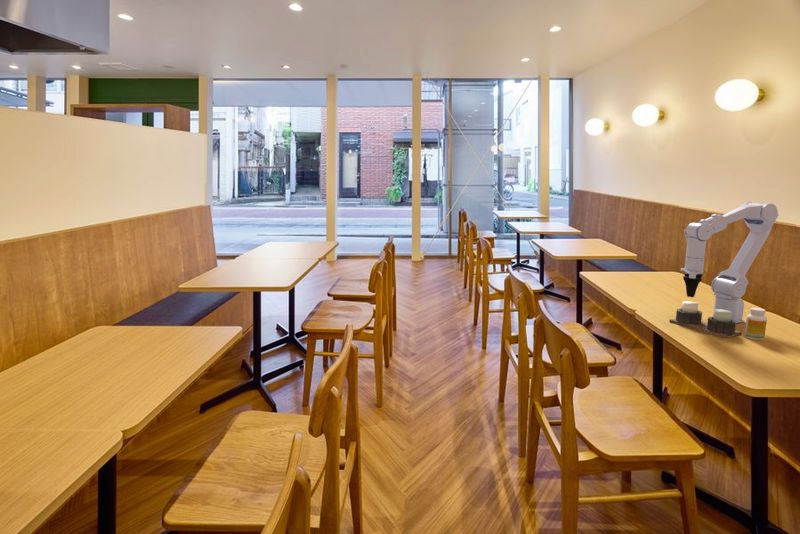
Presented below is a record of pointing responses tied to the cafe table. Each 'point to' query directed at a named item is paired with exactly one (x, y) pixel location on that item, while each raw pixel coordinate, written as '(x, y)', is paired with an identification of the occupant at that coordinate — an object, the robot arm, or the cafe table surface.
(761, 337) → the supplement bottle
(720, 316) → the peg sage
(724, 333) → the collar board
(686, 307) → the peg cream
